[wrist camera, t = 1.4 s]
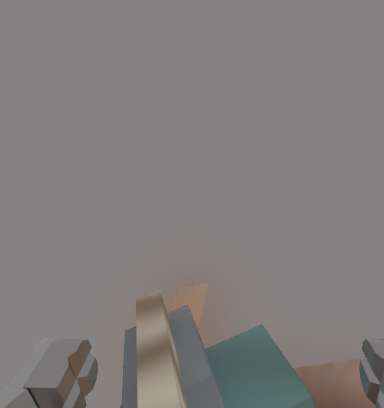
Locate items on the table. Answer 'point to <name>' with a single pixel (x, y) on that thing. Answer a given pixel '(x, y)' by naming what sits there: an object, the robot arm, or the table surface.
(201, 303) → the table surface
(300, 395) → the stepped riser
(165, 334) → the ash rod
